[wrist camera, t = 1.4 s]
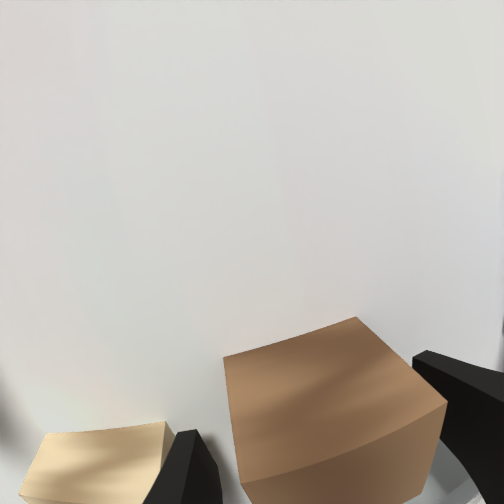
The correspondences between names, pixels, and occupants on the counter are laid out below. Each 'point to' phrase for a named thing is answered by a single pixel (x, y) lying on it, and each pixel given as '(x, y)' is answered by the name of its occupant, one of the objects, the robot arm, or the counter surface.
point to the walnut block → (331, 420)
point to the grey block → (446, 481)
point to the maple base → (98, 465)
